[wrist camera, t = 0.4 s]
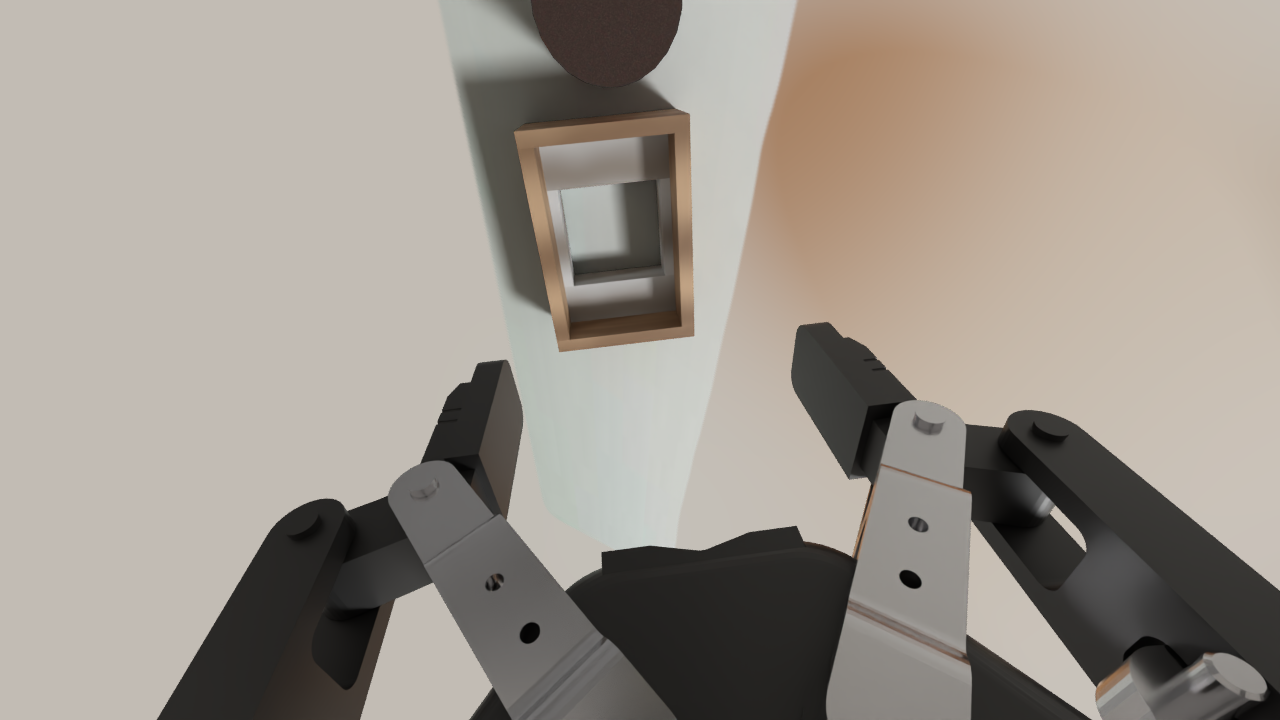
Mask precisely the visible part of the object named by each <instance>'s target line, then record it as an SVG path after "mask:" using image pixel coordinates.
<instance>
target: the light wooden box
mask: <svg viewBox="0 0 1280 720" xmlns="http://www.w3.org/2000/svg"><path fill="white" fill-rule="evenodd" d="M514 135H515V140H516V145H517V150H518V155H519V159H520V164H521V169H522V174H523V179H524V183H525V188H526V193H527V198H528V203H529V208H530V212H531V217H532V222H533V227H534V232H535V237H536V241H537V246H538V251H539V256H540V261H541V266H542V270H543V275H544V280H545V285H546V290H547V295H548V299H549V304H550V309H551V314H552V319H553V324H554V328H555V333H556V338H557V343H558V348H559V352H565V351H573V350H581V349H590V348H598V347H607V346H615V345H624V344H632V343H640V342H649V341H657V340H666V339H674V338H682V337H691V336H694V294H693V247H692V199H691V152H690V114H688V113H686V112H683V111H681V110H678V109H667V110H657V111H647V112H637V113H627V114H617V115H608V116H598V117H588V118H578V119H568V120H558V121H548V122H538V123H528V124H524V125H522V126H521V127H520V128H518V129H517V130H516V131H514ZM647 180H656V188H657V205H658V222H659V238H660V255H661V265H657V266H648V267H639V268H630V269H621V270H613V271H604V272H595V273H586V274H577V275H575V274H574V268H573V262H572V257H571V251H570V245H569V239H568V233H567V227H566V221H565V215H564V209H563V203H562V197H561V191H560V190H563V189H572V188H581V187H591V186H600V185H610V184H619V183H629V182H638V181H647Z"/></svg>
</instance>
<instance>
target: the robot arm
mask: <svg viewBox="0 0 1280 720" xmlns="http://www.w3.org/2000/svg"><path fill="white" fill-rule="evenodd" d="M791 378H792V384H793V388H794V390H795V392H796V394H797V396H798V398H799V399H800V401H801V402H802V404H803V406H804V407H805V409H806V411H807V412H808V414H809V415H810V417H811V419H812V420H813V422H814V424H815V425H816V427H817V428H818V430H819V432H820V433H821V435H822V437H823V438H824V440H825V441H826V443H827V445H828V446H829V448H830V449H831V451H832V453H833V454H834V456H835V458H836V459H837V461H838V463H839V464H840V466H841V467H842V469H843V471H844V472H845V474H846V475H847V477H848V479H849V480H850V479H858V478H865V477H867V478H868V479H869V481H870V482H871V486H870V489H869V493H868V497H867V500H866V504H865V508H864V512H863V516H862V520H861V524H860V528H859V532H858V535H857V539H856V543H855V547H854V551H853V555H852V557H851V556H849V555H847V554H845V553H843V552H841V551H838V550H836V549H834V548H830V547H827V546H824V545H821V544H816V543H811V542H805V541H803V539H802V537H801V535H800V533H799V530H798V528H797V526H792V527H785V528H777V529H770V530H763V531H756V532H749V533H746V534H744V535H741V536H739V537H736V538H734V539H731V540H729V541H726V542H724V543H721V544H719V545H716V546H714V547H712V548H709V549H706V550H702V551H697V550H686V549H677V548H667V547H658V546H644V547H637V548H629V549H622V550H615V551H608V552H602V568H601V569H599V570H596V571H594V572H592V573H590V574H588V575H586V576H584V577H583V578H581V579H580V580H578V581H577V582H576V583H574V584H573V585H572V586H571V587H570V588H568V589H567V590H566V591H564V590H563V588H562V587H561V586H560V585H559V584H558V583H557V581H556V580H555V579H554V578H553V576H552V575H551V574H550V573H549V572H548V570H547V569H546V568H545V567H544V566H543V564H542V563H541V562H540V561H539V559H538V558H537V557H536V556H535V555H534V553H533V552H532V551H531V550H530V549H529V547H528V546H527V545H526V544H525V543H524V541H523V540H522V539H521V538H520V536H519V535H518V534H517V533H516V532H515V530H514V529H513V528H512V527H511V526H510V524H509V523H508V522H507V521H506V519H507V514H508V509H509V503H510V497H511V491H512V485H513V480H514V474H515V468H516V462H517V456H518V450H519V445H520V439H521V433H522V427H523V411H522V405H521V402H520V398H519V395H518V391H517V388H516V384H515V381H514V378H513V374H512V371H511V367H510V365H509V363H508V361H507V360H499V361H490V362H482V363H478V364H477V366H476V369H475V372H474V374H473V377H472V380H471V382H469V383H461V384H459V385H458V387H457V388H455V390H454V391H453V392H452V393H451V394H450V395H449V396H448V397H447V400H446V402H445V404H444V407H443V409H442V413H441V415H440V417H439V419H438V425H436V427H435V429H434V432H433V434H432V436H431V439H430V442H429V444H428V446H427V449H426V451H425V454H424V456H423V459H422V461H421V463H420V464H419V465H417V466H415V467H413V468H411V469H409V470H408V471H406V472H405V473H403V474H402V475H401V476H400V477H399V478H398V479H397V480H396V481H395V482H394V484H393V485H392V487H391V488H390V491H389V494H388V496H386V497H384V498H381V499H379V500H376V501H374V502H371V503H368V504H365V505H363V506H360V507H357V508H355V509H352V510H349V511H347V510H346V509H345V508H344V506H343V505H342V504H341V502H339V501H337V500H334V499H319V500H315V501H312V502H309V503H306V504H304V505H302V506H300V507H298V508H296V509H294V510H293V511H291V512H290V513H288V514H287V515H285V517H283V518H282V519H281V520H280V521H278V522H277V523H276V525H275V526H274V527H273V528H272V529H271V530H270V532H269V533H268V535H267V537H266V538H265V540H264V542H263V543H262V545H261V547H260V548H259V550H258V552H257V554H256V555H255V557H254V558H253V560H252V562H251V563H250V565H249V567H248V568H247V570H246V572H245V573H244V575H243V577H242V579H241V580H240V582H239V583H238V585H237V587H236V588H235V590H234V592H233V593H232V595H231V597H230V598H229V600H228V602H227V604H226V605H225V607H224V609H223V610H222V612H221V614H220V615H219V617H218V618H217V620H216V622H215V623H214V625H213V627H212V628H211V630H210V632H209V634H208V635H207V637H206V639H205V640H204V642H203V644H202V645H201V647H200V649H199V650H198V652H197V654H196V655H195V657H194V659H193V660H192V662H191V664H190V665H189V667H188V669H187V670H186V672H185V674H184V675H183V677H182V679H181V680H180V682H179V684H178V685H177V687H176V689H175V690H174V692H173V694H172V695H171V697H170V699H169V700H168V702H167V704H166V705H165V707H164V709H163V710H162V712H161V714H160V716H159V717H158V719H157V720H360V717H361V714H362V711H363V707H364V704H365V701H366V697H367V694H368V690H369V687H370V683H371V680H372V677H373V673H374V670H375V666H376V663H377V659H378V656H379V653H380V649H381V646H382V642H383V639H384V635H385V632H386V629H387V625H388V621H389V618H390V615H391V611H392V608H393V604H394V601H395V599H396V598H399V597H401V596H403V595H405V594H408V593H410V592H412V591H415V590H417V589H419V588H421V587H423V586H426V585H428V584H430V583H434V584H435V586H436V588H437V589H438V591H439V593H440V595H441V597H442V598H443V600H444V602H445V604H446V605H447V607H448V609H449V611H450V612H451V614H452V616H453V617H454V619H455V621H456V623H457V624H458V626H459V628H460V630H461V632H462V633H463V635H464V637H465V639H466V640H467V642H468V644H469V646H470V647H471V649H472V651H473V653H474V654H475V656H476V658H477V659H478V661H479V663H480V665H481V666H482V668H483V670H484V672H485V673H486V675H487V677H488V679H489V680H490V682H491V684H492V686H493V688H492V689H491V690H490V692H489V693H488V695H487V696H486V698H485V699H484V700H483V702H482V703H481V705H480V706H479V707H478V709H477V710H476V711H475V713H474V714H473V716H472V717H471V718H470V720H1091V719H1090V718H1088V717H1087V716H1085V715H1084V714H1083V713H1081V712H1080V711H1078V710H1077V709H1075V708H1074V707H1072V706H1071V705H1069V704H1068V703H1066V702H1065V701H1064V700H1062V699H1061V698H1059V697H1058V696H1056V695H1055V694H1053V693H1052V692H1050V691H1049V690H1047V689H1046V688H1044V687H1043V686H1042V685H1040V684H1039V683H1037V682H1036V681H1034V680H1033V679H1031V678H1030V677H1028V676H1027V675H1025V674H1024V673H1023V672H1021V671H1020V670H1018V669H1017V668H1015V667H1013V666H1012V665H1011V664H1009V663H1008V662H1006V661H1005V660H1004V659H1002V658H1001V657H999V656H998V655H996V654H995V653H993V652H992V651H990V650H989V649H988V648H986V647H985V646H983V645H982V644H980V643H979V642H977V641H976V640H974V639H973V638H971V637H970V636H969V635H967V634H966V626H967V603H968V579H969V555H970V553H969V552H970V529H971V520H972V522H973V523H974V525H975V526H976V527H977V528H978V530H979V531H980V533H981V534H982V535H983V537H984V538H985V539H986V540H987V542H988V543H989V544H990V546H991V547H992V549H993V550H994V551H995V552H996V554H997V555H998V556H999V558H1000V559H1001V561H1002V562H1003V563H1004V565H1005V566H1006V567H1007V569H1008V570H1009V571H1010V572H1011V574H1012V575H1013V577H1014V578H1015V579H1016V581H1017V582H1018V583H1019V584H1020V586H1021V587H1022V589H1023V590H1024V591H1025V593H1026V594H1027V595H1028V597H1029V598H1030V599H1031V601H1032V602H1033V603H1034V605H1035V606H1036V607H1037V609H1038V610H1039V611H1040V613H1041V614H1042V615H1043V617H1044V618H1045V619H1046V620H1047V622H1048V623H1049V625H1050V626H1051V627H1052V629H1053V630H1054V631H1055V633H1056V634H1057V635H1058V637H1059V638H1060V639H1061V641H1062V642H1063V643H1064V645H1065V646H1066V647H1067V649H1068V650H1069V651H1070V653H1071V654H1072V655H1073V657H1074V658H1075V660H1076V661H1077V662H1078V663H1079V665H1080V666H1081V668H1082V669H1083V670H1084V671H1085V673H1086V674H1087V676H1088V677H1089V678H1090V679H1091V681H1092V682H1093V684H1094V685H1095V686H1096V693H1095V698H1096V705H1097V708H1098V711H1099V713H1100V716H1101V718H1102V719H1103V720H1280V591H1279V590H1278V589H1277V588H1276V587H1274V586H1273V585H1272V584H1270V582H1268V581H1267V580H1266V579H1265V578H1263V577H1262V576H1261V575H1260V574H1258V573H1257V572H1256V571H1255V570H1254V569H1252V568H1251V567H1250V566H1249V565H1247V564H1246V563H1245V562H1244V561H1243V560H1241V559H1240V558H1239V557H1238V556H1236V555H1235V554H1234V553H1233V552H1232V551H1230V550H1229V549H1228V548H1227V547H1226V546H1224V545H1223V544H1222V543H1221V542H1219V541H1218V540H1217V539H1216V538H1215V537H1213V536H1212V535H1211V534H1210V533H1208V532H1207V531H1206V530H1205V529H1204V528H1202V527H1201V526H1200V525H1199V524H1197V523H1196V522H1195V521H1194V520H1192V519H1191V518H1190V517H1189V516H1188V515H1186V514H1185V513H1184V512H1183V511H1181V510H1180V509H1179V508H1178V507H1176V506H1175V505H1174V504H1173V503H1172V502H1170V501H1169V500H1168V499H1167V498H1165V497H1164V496H1163V495H1162V494H1161V493H1160V492H1158V491H1157V490H1156V489H1155V488H1153V487H1152V486H1151V485H1150V484H1149V483H1147V482H1146V481H1145V480H1144V479H1142V478H1141V477H1140V476H1139V475H1137V474H1136V473H1135V472H1134V471H1132V470H1131V469H1130V468H1129V467H1128V466H1126V465H1125V464H1124V463H1123V462H1122V461H1120V460H1119V459H1118V458H1117V457H1116V456H1114V455H1113V454H1112V453H1111V452H1109V451H1108V450H1107V449H1106V448H1105V447H1103V446H1102V445H1101V444H1100V443H1098V442H1097V441H1096V440H1095V439H1094V438H1092V437H1091V436H1090V435H1089V434H1088V433H1086V432H1085V431H1084V430H1082V429H1081V428H1080V427H1078V426H1077V425H1075V424H1074V423H1072V422H1070V421H1068V420H1066V419H1064V418H1061V417H1059V416H1056V415H1053V414H1050V413H1046V412H1042V411H1034V410H1023V411H1018V412H1015V413H1013V414H1011V415H1010V416H1009V418H1008V419H1007V421H1006V423H1005V425H1004V427H1003V428H999V427H988V426H978V425H968V424H965V423H964V422H963V420H962V419H961V418H960V417H959V416H958V415H957V414H956V413H954V412H953V411H951V410H950V409H948V408H946V407H944V406H941V405H939V404H936V403H933V402H928V401H921V400H917V399H916V398H915V397H914V396H913V395H912V394H911V393H910V392H909V391H908V390H907V389H906V388H905V387H904V386H903V385H902V384H901V383H900V382H899V381H898V380H897V378H896V377H895V376H894V375H893V374H892V373H891V372H890V371H889V370H886V367H885V366H884V365H883V364H882V363H881V362H880V361H879V360H877V357H876V356H874V354H873V353H872V352H871V351H870V350H869V349H868V348H867V347H866V346H864V345H862V344H860V343H859V342H857V341H855V340H853V339H851V338H849V337H848V338H843V337H842V336H841V335H840V334H839V333H838V332H837V331H836V329H835V328H834V327H833V326H832V325H831V324H830V323H828V322H824V323H815V324H807V325H800V326H799V328H798V329H797V333H796V340H795V348H794V355H793V363H792V370H791ZM1055 505H1056V506H1057V507H1058V508H1059V509H1060V510H1061V512H1062V513H1063V514H1065V516H1066V517H1067V518H1068V519H1069V520H1070V521H1071V522H1072V523H1073V524H1074V525H1075V526H1076V527H1077V528H1078V529H1079V531H1080V532H1081V533H1082V536H1083V537H1084V540H1085V542H1086V548H1087V550H1086V552H1085V551H1084V550H1083V549H1082V548H1081V547H1080V546H1079V545H1078V544H1077V543H1076V541H1075V540H1074V539H1073V538H1072V537H1071V536H1070V535H1069V534H1068V533H1067V532H1066V531H1065V530H1064V528H1063V527H1062V526H1061V525H1060V524H1059V523H1058V522H1057V521H1056V520H1055V519H1054V518H1053V517H1052V516H1051V515H1050V512H1051V511H1052V509H1053V508H1054V506H1055Z"/></svg>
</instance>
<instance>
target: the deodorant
mask: <svg viewBox="0 0 1280 720" xmlns="http://www.w3.org/2000/svg"><path fill="white" fill-rule="evenodd" d="M531 3H532V11H533V16H534V19H535V22H536V25H537V27H538V30H539V33H540V36H541V38H542V40H543V42H544V43H545V45H546V47H547V48H548V50H549V51H550V53H551V55H552V56H553V58H554V59H555V60H556V61H557V62H558V63H559V64H560V65H561V66H562V67H563V68H564V69H565V70H566V71H567V72H568V73H570V74H571V75H573V76H575V77H577V78H578V79H580V80H582V81H583V82H585V83H588V84H592V85H596V86H600V87H621V86H625V85H627V84H630V83H633V82H635V81H638V80H640V79H641V78H643V77H644V76H645V75H647V74H648V73H649V72H651V71H652V70H653V69H655V68H656V66H657V65H658V64H659V63H660V61H661V60H662V59H663V57H664V56H665V55H666V54H667V52H668V50H669V48H670V46H671V44H672V42H673V40H674V37H675V35H676V33H677V30H678V25H679V21H680V16H681V11H682V0H531Z"/></svg>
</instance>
